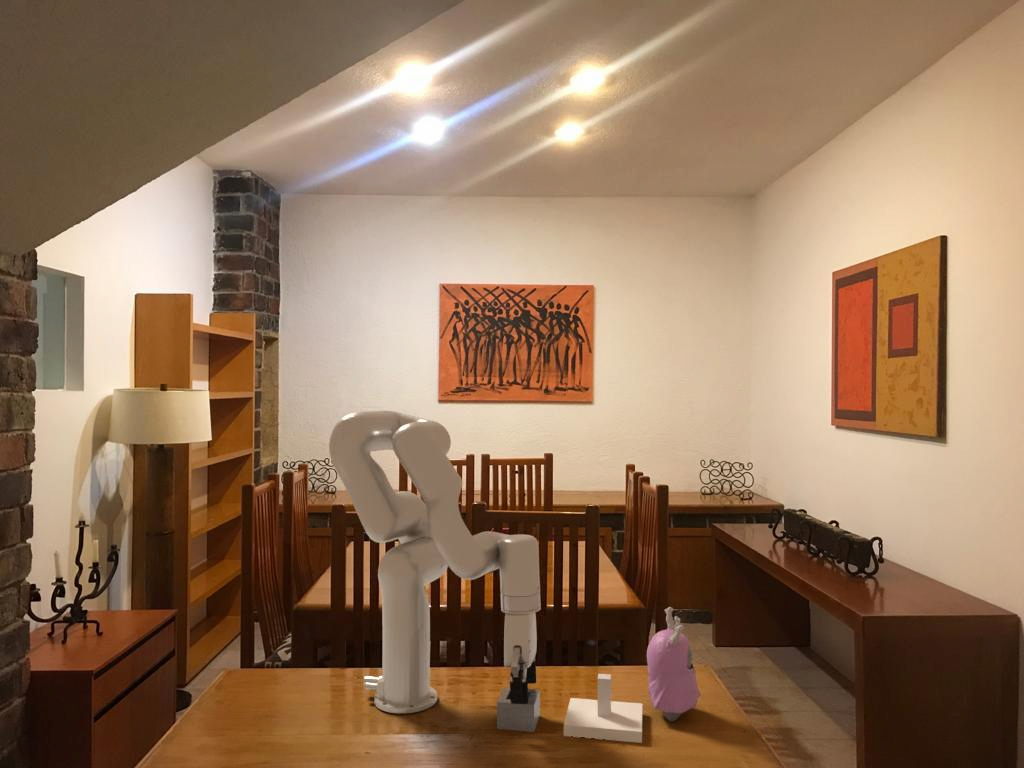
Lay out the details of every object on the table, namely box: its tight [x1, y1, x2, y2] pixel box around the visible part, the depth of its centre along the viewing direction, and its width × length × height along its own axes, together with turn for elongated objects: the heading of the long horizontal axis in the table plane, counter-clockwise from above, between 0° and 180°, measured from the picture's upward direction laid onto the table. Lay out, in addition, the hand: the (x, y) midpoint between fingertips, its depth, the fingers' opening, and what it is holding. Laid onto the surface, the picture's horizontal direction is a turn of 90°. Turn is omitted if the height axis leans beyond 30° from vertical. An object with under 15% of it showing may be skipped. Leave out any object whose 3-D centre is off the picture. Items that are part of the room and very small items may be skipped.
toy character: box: [646, 606, 702, 722], centre depth 142 cm, size 12×10×20 cm
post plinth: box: [563, 673, 643, 744], centre depth 137 cm, size 14×12×9 cm
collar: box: [496, 686, 541, 733], centre depth 138 cm, size 7×7×5 cm
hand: (524, 692), depth 138 cm, fingers open, 9 cm apart
